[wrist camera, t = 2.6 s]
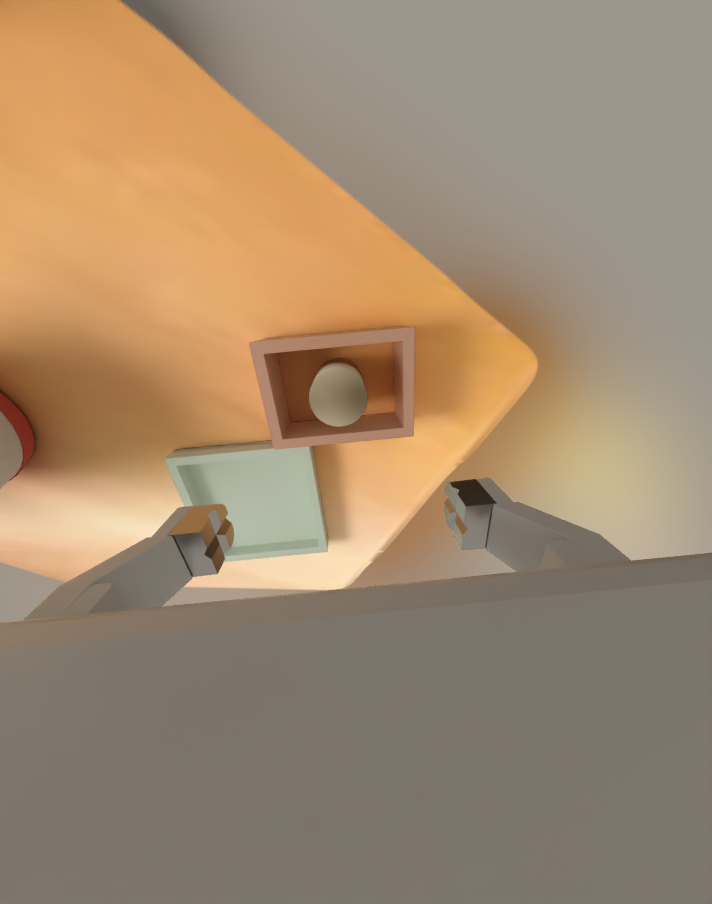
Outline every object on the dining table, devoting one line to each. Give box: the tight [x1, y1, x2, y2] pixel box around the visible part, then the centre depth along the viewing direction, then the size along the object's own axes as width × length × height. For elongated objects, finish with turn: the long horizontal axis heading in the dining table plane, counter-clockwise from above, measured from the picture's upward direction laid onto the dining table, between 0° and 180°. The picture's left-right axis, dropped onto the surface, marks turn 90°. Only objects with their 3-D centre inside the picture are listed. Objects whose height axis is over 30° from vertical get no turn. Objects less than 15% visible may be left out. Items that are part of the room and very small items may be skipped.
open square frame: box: [249, 326, 415, 450], centre depth 27 cm, size 10×14×5 cm
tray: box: [164, 440, 328, 562], centre depth 35 cm, size 16×16×2 cm
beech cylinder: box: [309, 358, 367, 427], centre depth 27 cm, size 5×5×7 cm
